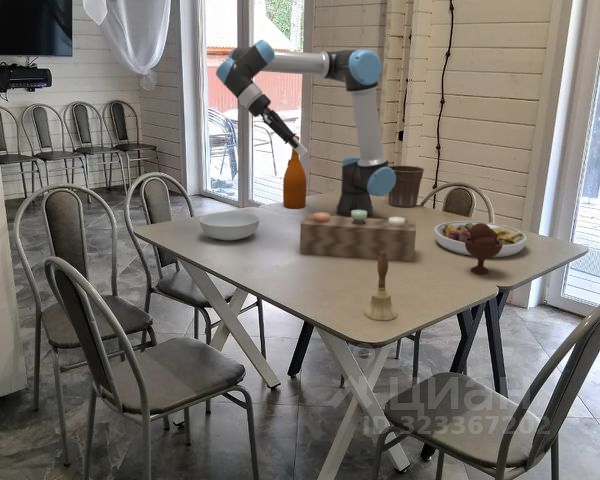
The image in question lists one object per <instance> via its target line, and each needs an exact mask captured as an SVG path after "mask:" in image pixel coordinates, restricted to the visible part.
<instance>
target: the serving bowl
mask: <svg viewBox="0 0 600 480" xmlns="http://www.w3.org/2000/svg"><path fill="white" fill-rule="evenodd" d="M198 221H199V226H200V228H201V230H202V231H203V233H204V234H205V235H206V236H208V237H210V238H213V239H216V240H221V241H228V242H229V241H237V240H242V239H244V238H247V237H249V236H251V235H253V234H254V233H255V232H256V231H257V230H258V227H259V225H260V217H259V215H257V214H254V213H253V212H252V213H251V212H246V211H220V212H218V211H217V212H213V213H207V214H205V215H202V216H201V217H200V218H199V220H198Z"/></svg>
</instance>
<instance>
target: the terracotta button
mask: <svg viewBox="0 0 600 480" xmlns="http://www.w3.org/2000/svg"><path fill="white" fill-rule="evenodd" d="M313 215H314V221H316V222H328V221H329V220H330V216H331V214H330V213H328V212H324V211H323V212H321V211H320V212H315V213H313Z"/></svg>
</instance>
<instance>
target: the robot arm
mask: <svg viewBox="0 0 600 480" xmlns="http://www.w3.org/2000/svg"><path fill="white" fill-rule="evenodd" d="M228 55H229V56H228V58H227V59H225V60H224V61H222V63H221V64H220V65H218V67H217V69H216V70H215V75H216V77H217V78H218V80H220V81H221V83H222V84H223V86H225V87H226V88H227V89H228V90H229V91H230V93H231V94H233V96H234V97H235V98H236V99H237V100H238V101H239V104H240V105H243V107H245V108H247V111H248V112H249V113H250V114H251V115H252V116H253V117H254V118H257V117H258V116H261V118H262V121H263V123H264V124H265V125H266V126H268V127H269V128H270V129H271V130H272V131H273V132H274V133H275V134H276V135H277V136H278V137H280V138H279V139H281V140H283V141H282V142H284V144H285V145H287V144H288V145H289V146H290V147H291V148H293V149H294V150H295V151H296V152H297V153H298V154H299V157H300V158H303V157H304V155H306V154H307V153H308V149H307V148H305V146H304V145H303V144H302V143H301V142H300V140H299V141H298V140H297V139H296V138H295V137H294V136H297V134H296V133H294V132H293V131H292V129H290V128H289V126H288V125H287V124H286V122H285V121H284V120H283V119H282V118H281V117H280V115H279V113H278V112H276V111H275V110H273V109H270V107H269V106H270V105H271V104H272V103H271V102H272V101H271V99H270V98H269V97H268V96H267V95H266V94H265V93H263V90H262V89H261V88H260V87H259V86H258V85H257V84H256V83H255V82H254V81H253V80H252V79H254V78H255V77H256V76H257V75H258V74H259V73H260V72H268V73H280V74H281V73H282V74H297V75H311V76H318V78H319V79H325V80H326V79H327V80H332V81H336V82H341V83H344V84H345V91H346V92H347V93H348V94H349V95H350V96H351V97H350V98H351V102H352V109H353V115H354V116H353V117H354V123H355V129H356V136H357V141H358V142H357V143H358V149H359V156H355V157H353V156H351V157H345V158H344V159H343V160H342V165H341V193H340V197H339V199H338V203H337V204H336V207H335V208H336V211H335V213H337V214H338V215H340V216H343V217H351V211H352V210H365V211H367V217H368V216H369V217H370V216H371V215H373V214H374V206H373V203H372V199H371V196H375V197H384V196H387V195H389V192H390V191H391V190H392V188H393V187H394V185H395V182H396V175H395V172H394V171H393V170H392V169H391V168H389V166H390V165H389V158H388V157H387V156H386V155H385V154H384V151H383V143H382V142H383V141H382V136H381V128H380V119H379V114H378V105H377V98H376V90H377V88H378V87H379V80H380V77H381V75H382V73H383V64H382V61H381V58H380V57H379V56H378V54H376V53H375V52H374V51H372V50H370V49H363V48H360V49H359V48H358V49H344V50H336V51H335V50H334V51H325V50H324V51H323V50H322V51H320V52H319V53H314V52H302V51H301V52H300V51H291V50H290V51H289V50H280V49H279V50H277V49H273V47H272V46H271V45H270V44H269V43H268V42H267V41H266V40H264V39H260V40H258V41H257V42H256V43H254V44H253V45H252V46H245V47H242V46H238V47H235V48H233V49H232V50H231V51H230V52H229V54H228Z"/></svg>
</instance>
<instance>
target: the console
mask: <svg viewBox="0 0 600 480" xmlns="http://www.w3.org/2000/svg"><path fill="white" fill-rule="evenodd" d="M416 229H417V227H416V221H415V220H406V219H405V224H404V226H402V227H393V226H390V225H389V218H388V219H384V218H371V217H370V218H369V217H367V219H364V224H354V219H353V218H351V217H350V216H337V215H336V216H334V215H330V220H329V221H328V222H316V221H314V214H306V215H304V218H303V219H302V221H301V223H300V231H299V232H300V233H299V234H300V237H299V239H300V241H299V242H300V243H299V244H300V246H299V252H300V253H299V254H300V255H312V256H313V255H315V256H326V257H327V256H329V257H338V258H339V257H340V258H341V257H343V258H355V259H356V258H357V259H371V260H372V259H373V260H378V259H379V257H380V254H381V252H386V255H387V259H388V261H395V262H396V261H398V262H399V261H400V262H412V263H413V262H414V261H415V260H414V259H415V247H416V246H415V245H416V236H417V230H416Z"/></svg>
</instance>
